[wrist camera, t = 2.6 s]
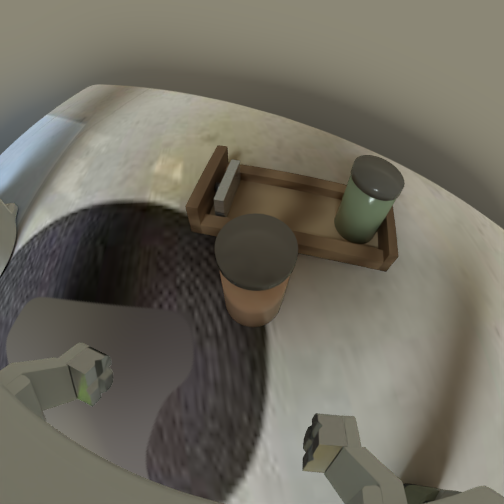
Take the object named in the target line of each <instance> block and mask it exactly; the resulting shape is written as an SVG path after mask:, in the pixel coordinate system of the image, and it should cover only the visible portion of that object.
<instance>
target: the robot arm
mask: <svg viewBox="0 0 504 504" xmlns="http://www.w3.org/2000/svg"><path fill="white" fill-rule="evenodd" d="M17 211H18V207H17V206H16V205H15V203H9V204H4V203H3V202H2V200H1V199H0V275H1V273H2V272H3V270H4V268H5V266H6V264H7V262H8V260H9V258H10V255H11V253H12V250H13V247H14V243H15V239H16V222H15V219H16V215H17ZM111 364H112V363H111V358H110V357H109V356H108V355H106V354H104V353H102V352H100V351H98V350H96V349H94V348H92V347H90V346H88V345H86V344H84V343H78V344H77V345H75V346H74V347H72V348H71V349H70V350H68V351H67V352H66V353H64V354H63V355H62V356H60V357H59V358H58V359H56V358H48V359H41V360H33V361H26V362H17V363H11V364H9V365H8V366H6V367H5V368H3V369H2V370H1V371H0V504H224V503H220V502H216V501H212V500H208V499H204V498H201V497H197V496H194V495H190V494H187V493H184V492H181V491H178V490H175V489H172V488H169V487H166V486H164V485H161V484H158V483H156V482H153V481H151V480H148V479H146V478H143V477H141V476H139V475H137V474H134V473H132V472H130V471H128V470H126V469H123V468H121V467H119V466H117V465H115V464H113V463H111V462H109V461H108V460H106V459H104V458H102V457H100V456H98V455H97V454H95V453H93V452H91V451H89V450H88V449H86V448H84V447H83V446H81V445H79V444H78V443H76V442H75V441H73V440H71V439H70V438H68V437H67V436H66V435H64V434H63V433H61V432H60V431H58V430H57V429H55V428H54V427H53V426H51V425H50V424H49V423H47V422H46V418H45V416H44V413H43V410H46V409H49V408H53V407H56V406H59V405H61V404H65V403H68V402H71V401H73V400H76V399H79V400H81V401H83V402H85V403H87V404H89V405H90V406H94V405H95V404H96V403H97V402H98V401H99V399H100V398H101V393H103V392H107V390H108V389H109V388H110V387H111V385H112V382H113V372H112V370H111V369H110V367H109V366H110V365H111ZM303 449H304V451H305V452H306V453H305V455H304V457H303V471H308V472H319V473H324V474H325V476H326V477H327V479H328V480H329V482H330V483H331V485H332V486H333V488H334V489H335V491H336V492H337V493H338V495H339V496H340V498H341V499H342V500H343V502H344V503H345V504H407V499H406V495H405V491H404V486H403V482H402V481H401V480H400V479H399V478H398V477H396V476H395V475H394V474H393V473H392V472H391V471H390V470H389V469H388V468H387V467H385V466H384V465H383V464H382V463H381V462H380V461H379V460H378V459H377V458H376V457H375V456H374V455H373V454H372V453H371V452H369V451H368V450H367V449H366V448H365V447H361V442H360V437H359V432H358V427H357V422H356V418H355V417H354V416H340V415H328V414H318V413H316V414H315V415H314V417H313V419H312V425H311V426H310V427H308V429H307V431H306V434H305V437H304V443H303ZM424 504H504V497H503V496H502V495H500V494H499V493H497V492H496V491H494V490H492V489H491V488H489V487H487V486H479V487H475V488H473V489H470V490H467V491H465V492H462V493H459V494H456V495H453V496H449V497H446V498H443V499H439V500H435V501H432V502H428V503H424Z"/></svg>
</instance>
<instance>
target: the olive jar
mask: <svg viewBox="0 0 504 504" xmlns="http://www.w3.org/2000/svg"><path fill="white" fill-rule="evenodd" d="M403 187H404V179H403V176H402V175H401V173H400V172H399V170H398V169H397V168H396V167H395V166H394V165H392V164H391V163H389V162H388V161H386V160H384V159H382V158H379V157H376V156H371V155H364V156H360V157H358V158H357V159H356V160H355V161H354V164H353V167H352V170H351V176H350V178H349V181H348V184H347V187H346V189H345V192H344V195H343V197H342V200H341V203H340V205H339V208H338V210H337V213H336V215H335V218H334V224H335V228H336V230H337V231H338V233H339V234H340V235H341V236H342V237H343V238H344V239H346V240H348V241H350V242H352V243H356V244H364V243H368V242H369V241H371V240H372V239H373V237H374V236H375V234H376V232H377V231H378V229H379V227H380V226H381V224H382V222H383V221H384V219H385V217H386V216H387V214H388V212H389V210H390V209H391V207H392V205H393V203H394V202H395V200H396V198H398V196H399V195H400V193H401V191H402V189H403Z"/></svg>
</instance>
